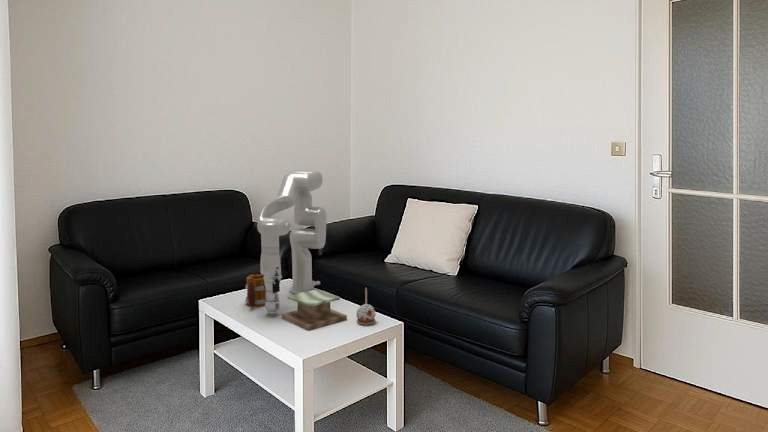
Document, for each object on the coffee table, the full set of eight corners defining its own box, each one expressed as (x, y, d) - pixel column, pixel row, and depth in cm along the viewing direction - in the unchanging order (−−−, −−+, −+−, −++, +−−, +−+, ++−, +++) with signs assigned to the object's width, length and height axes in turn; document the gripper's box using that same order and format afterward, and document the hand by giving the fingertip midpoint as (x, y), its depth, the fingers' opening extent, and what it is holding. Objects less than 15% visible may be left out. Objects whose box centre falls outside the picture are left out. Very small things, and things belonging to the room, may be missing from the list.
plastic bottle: (277, 314, 259) (275, 269, 255) (262, 313, 260) (260, 268, 257) (282, 309, 265) (281, 265, 262) (268, 308, 267) (266, 264, 263)
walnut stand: (319, 308, 272) (319, 287, 270) (346, 319, 257) (346, 297, 256) (281, 318, 259) (280, 295, 257) (308, 330, 244) (307, 306, 242)
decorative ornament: (368, 327, 249) (368, 292, 246) (353, 323, 253) (353, 289, 250) (378, 321, 255) (378, 287, 253) (363, 318, 259) (363, 284, 257)
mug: (272, 300, 284) (271, 269, 281) (262, 311, 268) (261, 279, 265) (250, 299, 285) (249, 268, 282) (238, 310, 269) (237, 278, 266)
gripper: (252, 247, 262) (254, 287, 265) (273, 255, 249) (275, 296, 252) (267, 245, 267) (268, 284, 270) (289, 252, 254) (290, 293, 257)
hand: (271, 289), depth 261 cm, fingers closed on plastic bottle, 6 cm apart
